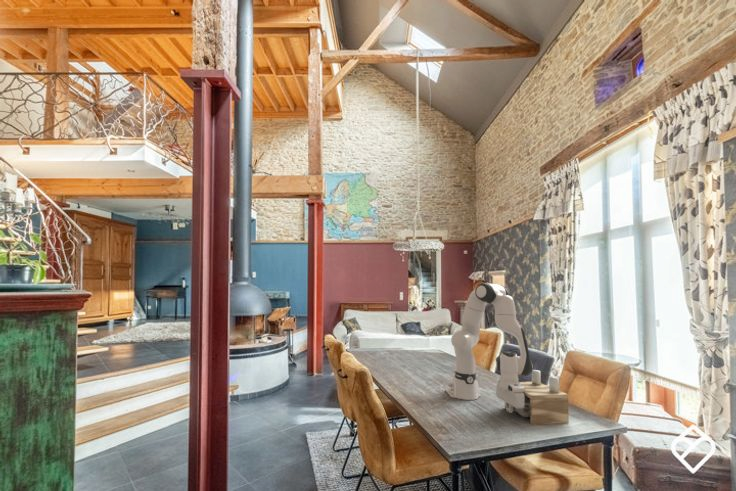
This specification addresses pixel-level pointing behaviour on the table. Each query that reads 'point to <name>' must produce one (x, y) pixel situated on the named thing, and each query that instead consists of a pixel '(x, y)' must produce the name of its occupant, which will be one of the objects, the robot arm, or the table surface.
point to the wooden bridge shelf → (546, 404)
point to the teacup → (526, 409)
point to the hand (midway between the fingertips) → (509, 412)
